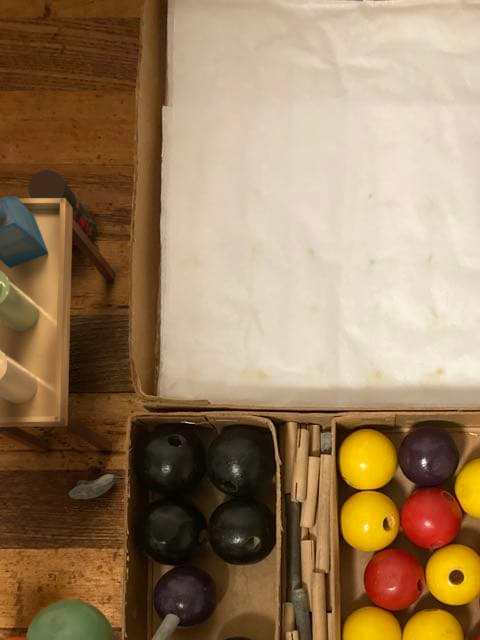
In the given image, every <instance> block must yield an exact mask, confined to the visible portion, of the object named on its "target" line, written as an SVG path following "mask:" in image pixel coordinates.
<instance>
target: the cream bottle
mask: <svg viewBox="0 0 480 640" xmlns="http://www.w3.org/2000/svg"><path fill="white" fill-rule="evenodd" d="M36 390H37V380H36V377H35V375H34V374H33V373H32V372H31V371H30V370H29V369H27V368H26V367H24V366H23V365H21V364H20V363H19V362H17V361H16V360H14V359H13V358H11V357H10V356H8V355H7V354H6V353H4V352H3V351H1V350H0V397H1V398H3V399H5V400H6V401H8V402H10V403H14V404H21V403H25V402H27V401H29V400H30V399H31V398H32V397H33V396H34V395H35V393H36Z"/></svg>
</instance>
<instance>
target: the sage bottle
mask: <svg viewBox="0 0 480 640" xmlns="http://www.w3.org/2000/svg"><path fill="white" fill-rule="evenodd" d="M38 318H39V308H38V305H37V303H36V302H35V301H34V300H33V299H32V298H31V297H30V296H29V295H27V294H26V293H25V292H24V291H23V290H22V289H21V288H20V287H19V286H17V285H16V284H15V283H14V282H13V281H12V280H11V279H10V278H9V277H7V276H6V275H5V274H4V273H3V272H2V271H0V322H1V323H3V324H4V325H5V326H7V327H8V328H9V329H11V330H13V331H18V332H22V331H26V330H29V329H30V328H32V327H33V326H34V325H35V324H36V323H37V321H38Z"/></svg>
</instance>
